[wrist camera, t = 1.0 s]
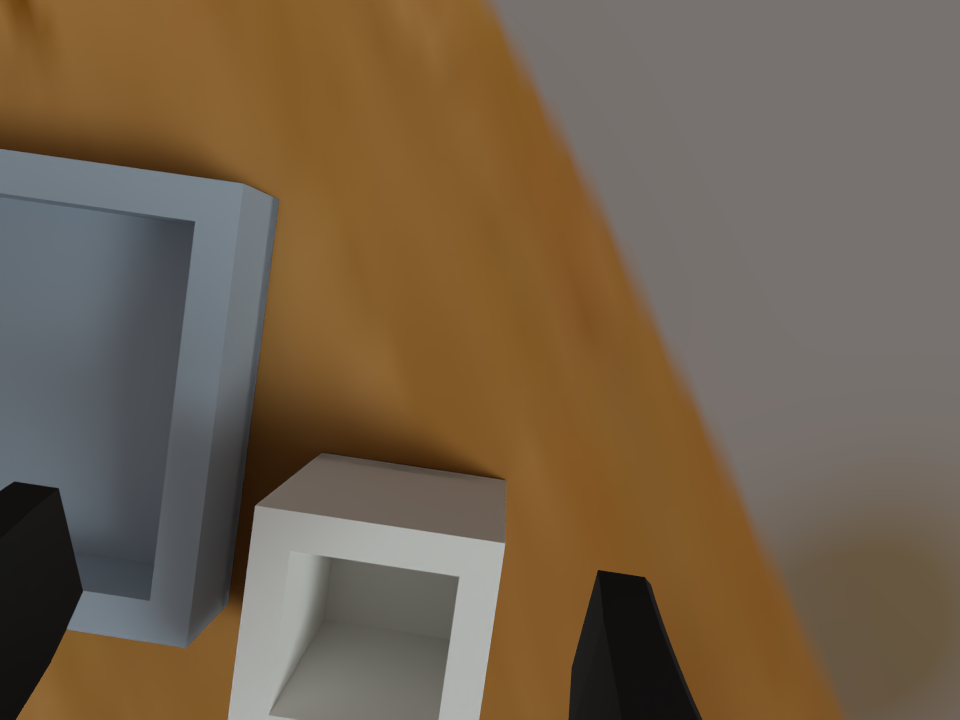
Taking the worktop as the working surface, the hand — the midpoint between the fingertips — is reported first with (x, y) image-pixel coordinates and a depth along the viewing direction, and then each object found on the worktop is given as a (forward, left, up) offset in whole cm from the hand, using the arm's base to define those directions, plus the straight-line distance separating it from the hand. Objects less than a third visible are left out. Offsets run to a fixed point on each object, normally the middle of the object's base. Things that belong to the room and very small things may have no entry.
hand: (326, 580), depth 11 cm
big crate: (0, +10, -11) cm, 15 cm away
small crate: (-3, 0, -11) cm, 12 cm away
